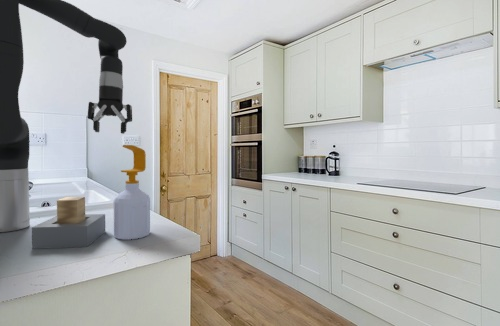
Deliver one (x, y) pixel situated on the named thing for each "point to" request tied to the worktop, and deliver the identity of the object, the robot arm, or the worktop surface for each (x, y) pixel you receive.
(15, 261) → the worktop surface
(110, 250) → the worktop surface
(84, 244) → the well
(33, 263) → the worktop surface
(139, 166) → the soap bottle
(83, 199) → the oak post
